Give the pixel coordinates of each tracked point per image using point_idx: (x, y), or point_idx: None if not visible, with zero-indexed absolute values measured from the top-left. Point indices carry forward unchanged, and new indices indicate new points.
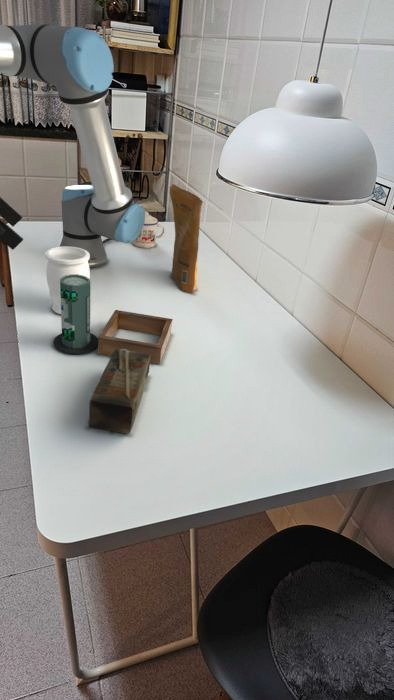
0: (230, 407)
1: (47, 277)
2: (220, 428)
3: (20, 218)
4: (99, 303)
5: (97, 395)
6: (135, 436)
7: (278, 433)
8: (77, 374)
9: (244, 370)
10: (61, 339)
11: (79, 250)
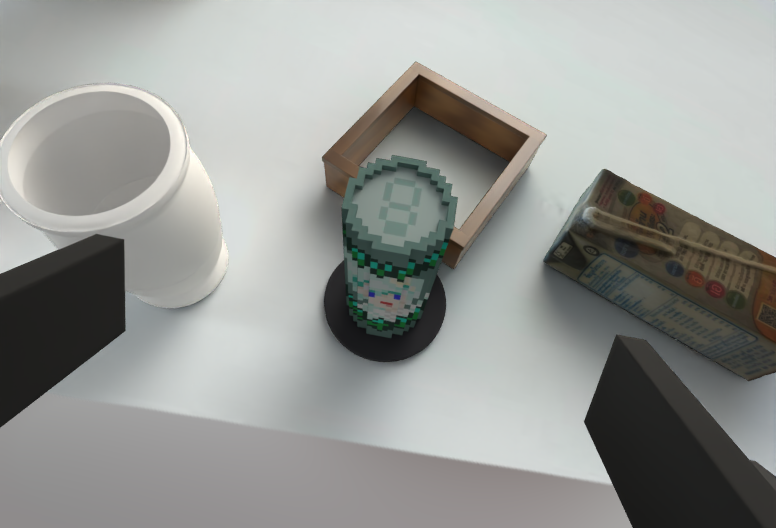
0: (696, 117)
1: None
2: (755, 159)
3: (122, 254)
4: None
5: None
6: None
7: (773, 88)
8: (532, 343)
9: (582, 42)
10: (364, 334)
11: (58, 104)
